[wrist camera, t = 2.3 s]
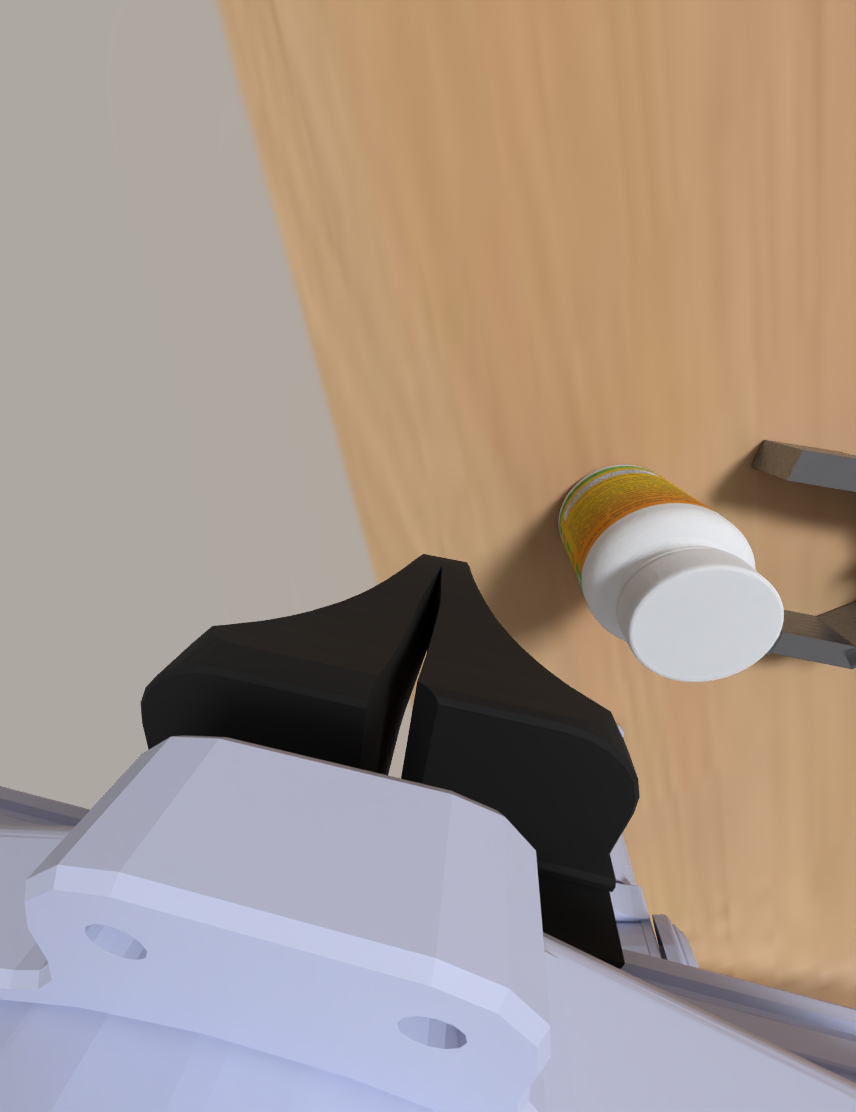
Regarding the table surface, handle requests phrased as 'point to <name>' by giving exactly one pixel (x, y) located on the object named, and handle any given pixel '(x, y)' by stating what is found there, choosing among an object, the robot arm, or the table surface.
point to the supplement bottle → (668, 575)
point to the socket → (846, 630)
